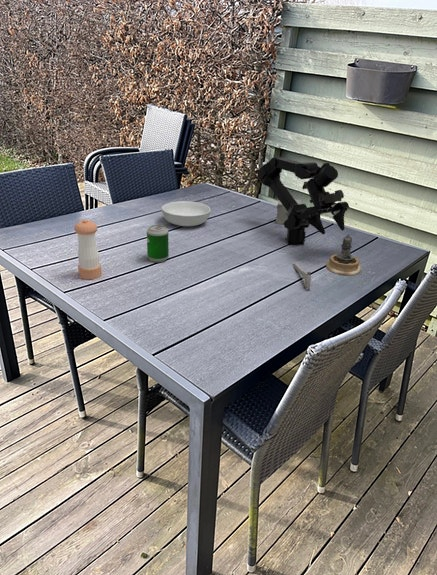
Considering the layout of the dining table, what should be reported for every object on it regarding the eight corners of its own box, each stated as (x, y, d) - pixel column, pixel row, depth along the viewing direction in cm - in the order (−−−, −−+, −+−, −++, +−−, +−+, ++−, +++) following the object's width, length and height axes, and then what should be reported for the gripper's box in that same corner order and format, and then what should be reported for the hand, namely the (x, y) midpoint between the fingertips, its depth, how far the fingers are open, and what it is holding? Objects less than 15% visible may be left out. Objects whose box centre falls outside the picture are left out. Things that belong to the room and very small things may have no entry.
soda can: (172, 257, 173) (172, 226, 168) (161, 265, 167) (161, 232, 162) (154, 253, 176) (153, 222, 170) (143, 260, 170) (142, 228, 164)
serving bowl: (209, 232, 198) (210, 216, 195) (159, 230, 198) (158, 214, 194) (210, 216, 216) (211, 201, 213) (164, 214, 216) (164, 199, 213)
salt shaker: (338, 260, 174) (343, 229, 168) (354, 264, 171) (359, 233, 165) (332, 266, 169) (337, 234, 164) (348, 270, 166) (353, 238, 161)
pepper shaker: (81, 281, 153) (76, 224, 145) (76, 272, 159) (70, 217, 150) (104, 277, 157) (99, 222, 148) (98, 268, 162) (93, 215, 154)
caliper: (309, 291, 154) (312, 273, 151) (306, 291, 154) (308, 273, 151) (295, 265, 172) (297, 249, 169) (292, 265, 172) (294, 249, 169)
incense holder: (274, 224, 209) (277, 201, 205) (277, 218, 217) (279, 196, 212) (297, 227, 207) (300, 204, 203) (299, 221, 215) (302, 199, 210)
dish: (331, 275, 165) (333, 266, 163) (322, 261, 175) (323, 252, 174) (365, 275, 166) (367, 266, 164) (353, 261, 176) (355, 252, 175)
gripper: (310, 185, 163) (327, 225, 160) (350, 179, 171) (367, 218, 168) (293, 200, 172) (309, 239, 169) (331, 195, 181) (347, 231, 178)
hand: (333, 232), depth 171 cm, fingers open, 9 cm apart
